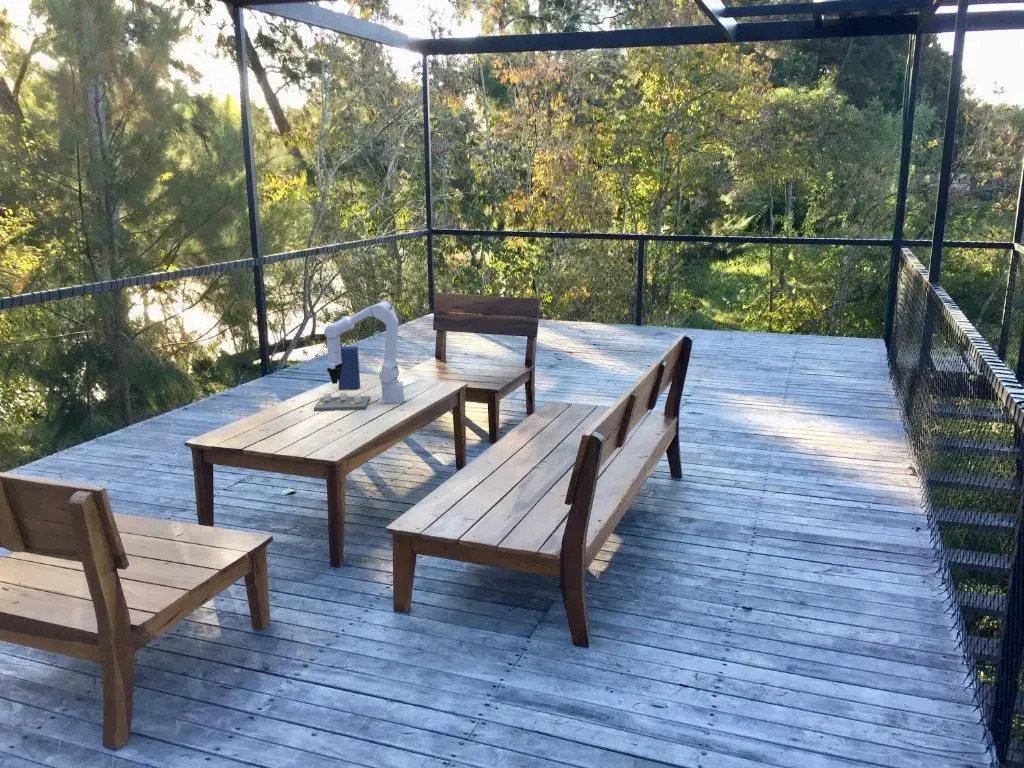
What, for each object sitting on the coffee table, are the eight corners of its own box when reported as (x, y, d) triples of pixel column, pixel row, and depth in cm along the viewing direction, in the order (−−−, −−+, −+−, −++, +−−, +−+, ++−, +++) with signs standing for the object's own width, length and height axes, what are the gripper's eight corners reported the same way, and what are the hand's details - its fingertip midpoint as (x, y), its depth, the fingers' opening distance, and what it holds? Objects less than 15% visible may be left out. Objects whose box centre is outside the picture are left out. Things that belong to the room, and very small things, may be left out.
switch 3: (361, 400, 387) (361, 394, 387) (360, 402, 384) (360, 396, 384) (355, 401, 387) (355, 394, 387) (354, 402, 384) (354, 396, 384)
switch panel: (370, 399, 397) (370, 396, 397) (365, 409, 380) (365, 406, 379) (321, 401, 396) (320, 397, 396) (314, 411, 379) (313, 407, 379)
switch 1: (331, 399, 392) (330, 393, 391) (330, 400, 389) (329, 394, 388) (325, 399, 392) (325, 393, 391) (324, 400, 389) (323, 394, 388)
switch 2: (347, 398, 392) (346, 392, 391) (346, 400, 389) (345, 394, 388) (341, 398, 392) (340, 392, 391) (340, 400, 389) (339, 394, 388)
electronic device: (360, 387, 421) (358, 345, 417) (358, 389, 416) (355, 347, 412) (341, 387, 422) (338, 345, 418) (338, 389, 417) (335, 348, 413)
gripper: (327, 348, 399) (329, 378, 402) (322, 355, 385) (324, 385, 388) (343, 348, 399) (345, 377, 402) (338, 354, 385) (340, 385, 388)
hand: (336, 381), depth 395 cm, fingers open, 7 cm apart
